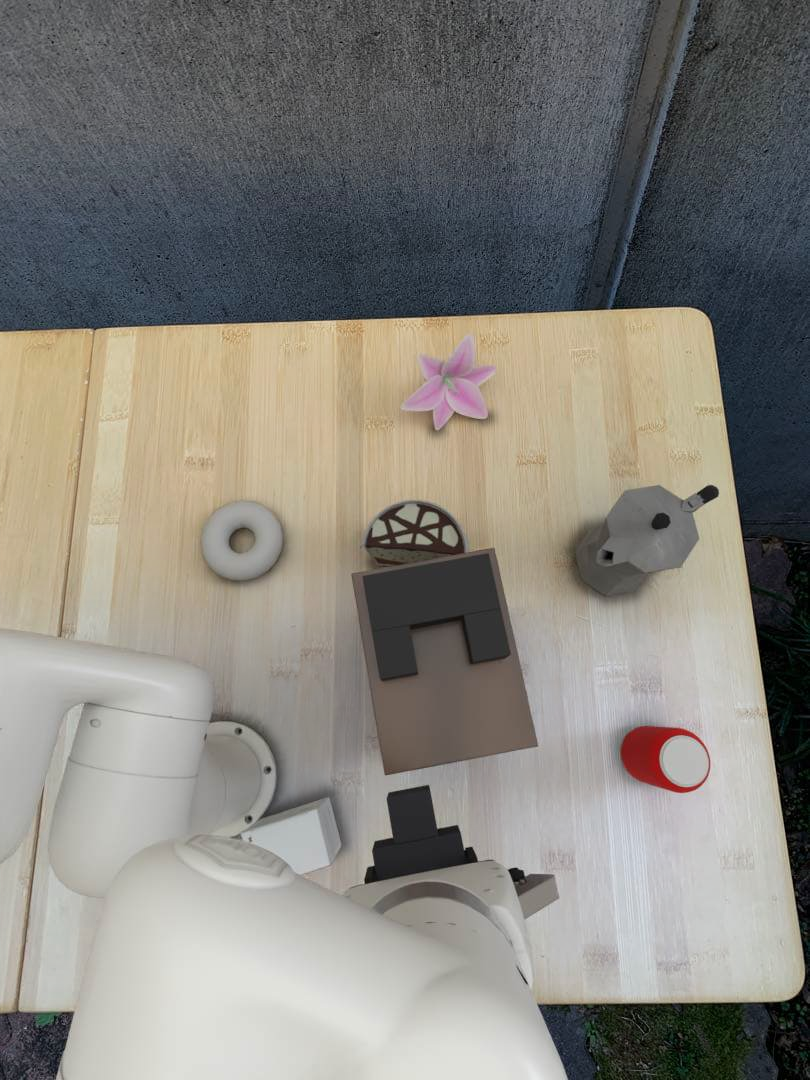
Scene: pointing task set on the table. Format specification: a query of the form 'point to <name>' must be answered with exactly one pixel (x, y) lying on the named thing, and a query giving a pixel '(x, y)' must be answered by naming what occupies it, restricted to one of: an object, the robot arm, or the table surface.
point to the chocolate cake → (413, 534)
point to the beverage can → (666, 758)
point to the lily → (451, 385)
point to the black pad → (434, 611)
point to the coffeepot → (640, 538)
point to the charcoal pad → (416, 838)
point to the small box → (299, 836)
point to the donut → (252, 560)
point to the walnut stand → (446, 692)
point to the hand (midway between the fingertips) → (424, 881)
